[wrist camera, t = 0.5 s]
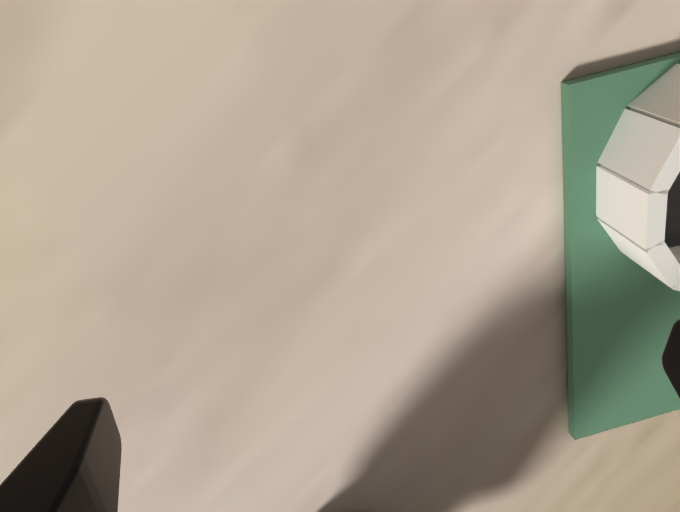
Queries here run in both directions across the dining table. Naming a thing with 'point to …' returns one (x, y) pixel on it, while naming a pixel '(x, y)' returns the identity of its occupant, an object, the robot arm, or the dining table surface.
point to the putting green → (621, 241)
